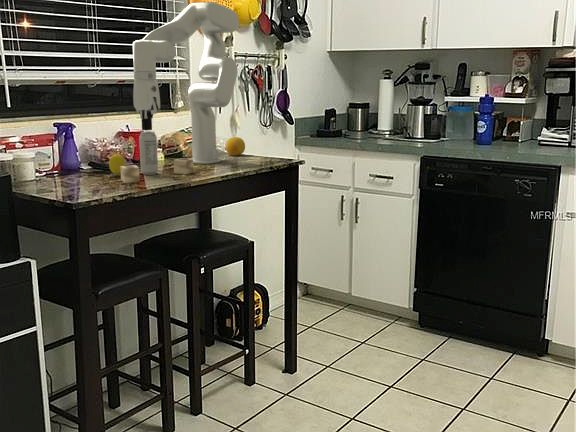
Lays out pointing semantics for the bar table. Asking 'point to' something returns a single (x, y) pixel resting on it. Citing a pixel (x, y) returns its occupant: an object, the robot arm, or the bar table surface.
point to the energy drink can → (148, 153)
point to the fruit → (235, 146)
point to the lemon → (116, 163)
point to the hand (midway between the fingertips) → (147, 129)
